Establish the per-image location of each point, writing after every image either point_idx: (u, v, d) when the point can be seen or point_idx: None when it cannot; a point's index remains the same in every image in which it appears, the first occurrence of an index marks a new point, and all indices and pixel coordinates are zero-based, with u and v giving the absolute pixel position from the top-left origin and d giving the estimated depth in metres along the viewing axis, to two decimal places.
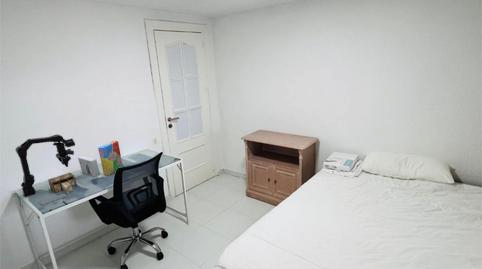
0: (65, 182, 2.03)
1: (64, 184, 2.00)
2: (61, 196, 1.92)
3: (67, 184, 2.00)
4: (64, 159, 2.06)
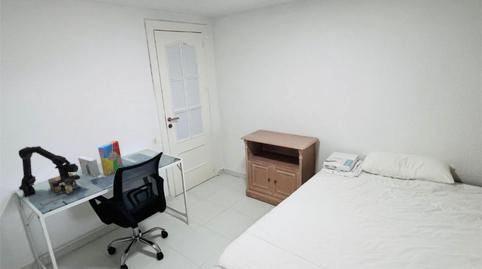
0: None
1: (64, 184, 2.00)
2: (61, 196, 1.92)
3: (67, 184, 2.00)
4: (51, 184, 1.92)
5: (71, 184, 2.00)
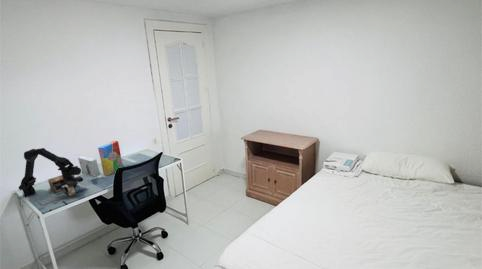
0: None
1: (66, 186, 1.96)
2: (61, 196, 1.92)
3: (70, 186, 1.96)
4: (54, 186, 1.88)
5: (74, 186, 1.96)
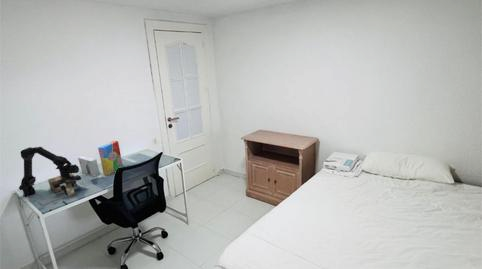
0: None
1: (66, 186, 1.96)
2: (61, 196, 1.92)
3: (69, 186, 1.96)
4: (52, 185, 1.90)
5: (72, 185, 1.99)
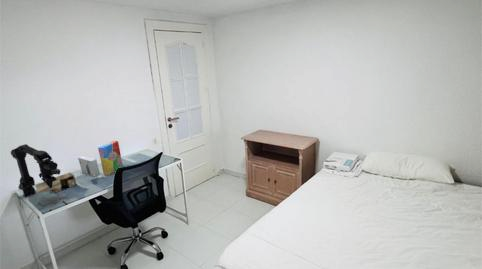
0: (43, 182, 1.83)
1: None
2: (61, 196, 1.92)
3: None
4: (48, 181, 1.77)
5: None
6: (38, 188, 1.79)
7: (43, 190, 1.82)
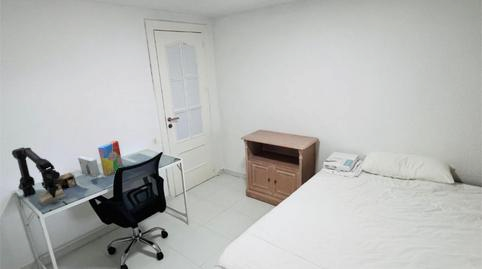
0: (46, 193, 1.85)
1: None
2: None
3: None
4: (51, 190, 1.79)
5: None
6: (41, 198, 1.81)
7: (46, 200, 1.84)
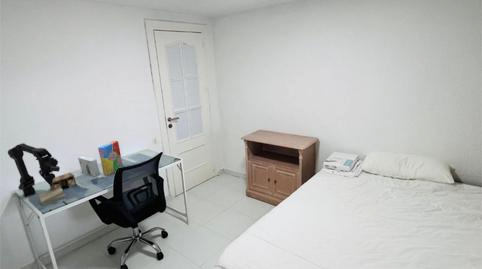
0: (46, 193, 1.85)
1: (52, 191, 1.87)
2: None
3: (55, 190, 1.89)
4: (47, 177, 1.80)
5: None
6: (41, 198, 1.81)
7: (46, 200, 1.84)
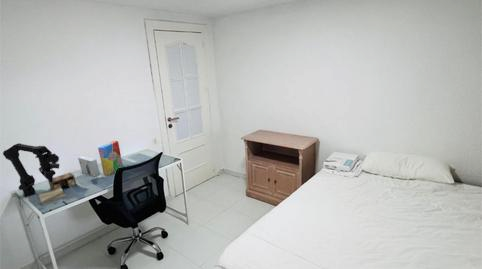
0: (46, 193, 1.85)
1: (52, 191, 1.87)
2: None
3: (55, 190, 1.89)
4: (47, 174, 1.84)
5: None
6: (41, 198, 1.81)
7: (46, 200, 1.84)
